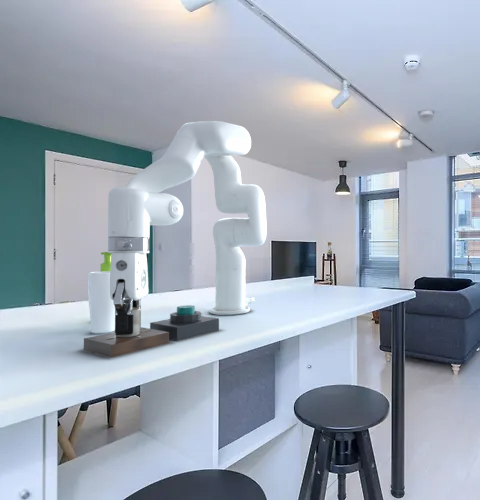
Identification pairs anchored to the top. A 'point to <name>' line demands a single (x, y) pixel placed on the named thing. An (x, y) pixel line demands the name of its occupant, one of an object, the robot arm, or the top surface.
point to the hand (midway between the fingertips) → (128, 330)
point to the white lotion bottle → (100, 303)
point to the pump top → (185, 310)
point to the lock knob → (134, 323)
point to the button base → (186, 325)
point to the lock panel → (125, 342)
